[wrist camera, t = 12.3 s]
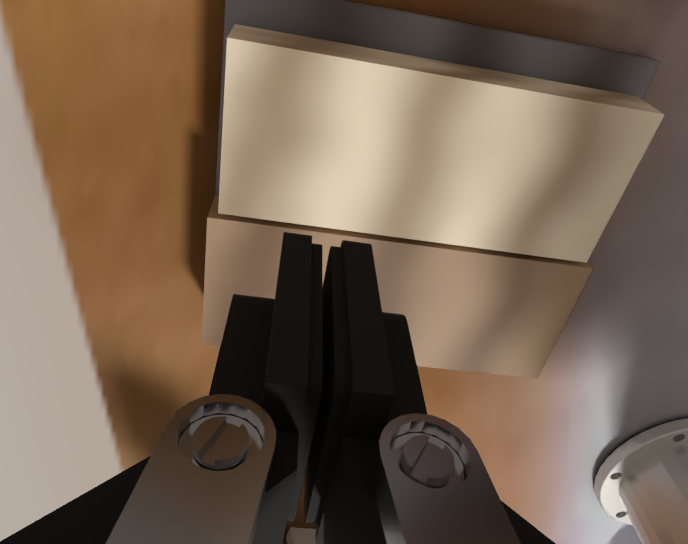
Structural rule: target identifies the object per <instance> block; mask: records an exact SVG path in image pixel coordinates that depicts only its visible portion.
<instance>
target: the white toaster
mask: <svg viewBox="0 0 688 544" xmlns="http://www.w3.org/2000/svg"><path fill="white" fill-rule="evenodd" d="M315 537H316V529H311V528H295V527H291V528H290V529H289V531H288V533H287V536H286V541H287V544H315Z"/></svg>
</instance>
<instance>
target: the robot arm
mask: <svg viewBox="0 0 688 544" xmlns="http://www.w3.org/2000/svg"><path fill="white" fill-rule="evenodd" d="M304 474H305V499H304V521H305V522H310V523H316V537H315V544H555V543H554V542H553V541H551V540H550V539H549V538H548V537H546V536H545V535H544V534H542V533H541V532H540V531H539V530H537V529H536V528H535V527H534V526H532V525H531V524H530V523H529V522H527V521H526V520H525V519H524V518H522V517H521V516H520V515H518V514H517V513H516V512H515V511H513V510H512V509H511V508H510V507H508V506H507V505H506V504H505V503H503V502H502V501H501V500H500V498H499V496H498V494H497V492H496V489H495V487H494V485H493V483H492V481H491V479H490V477H489V474H488V472H487V470H486V468H485V466H484V464H483V461H482V459H481V457H480V455H479V453H478V451H477V449H476V448H475V446H474V445H473V443H472V441H471V440H470V438H468V437H467V436H466V435H465V434H464V433H463V432H462V431H461V430H460V429H459V428H458V427H456V426H454V425H453V424H451V423H449V422H448V421H446V420H444V419H441V418H438V417H435V416H432V415H429V414H427V411H426V406H425V402H424V397H423V392H422V388H421V383H420V378H419V374H418V369H417V364H416V360H415V355H414V350H413V346H412V341H411V336H410V332H409V327H408V323H407V319H406V316H404V315H403V314H395V313H386V312H382V308H381V302H380V295H379V289H378V282H377V276H376V269H375V263H374V257H373V250H372V245H371V244H369V243H361V242H354V241H347V240H343V241H342V243H341V246H340V247H336V246H331V247H330V250H329V255H328V260H327V266H326V271H325V276H324V282H323V287H322V245H321V244H314V243H312V236H310V235H303V234H296V233H288V232H284V233H283V241H282V248H281V256H280V263H279V271H278V278H277V286H276V294H275V299H271V298H263V297H255V296H247V295H239V294H234V295H233V297H232V300H231V305H230V309H229V313H228V317H227V321H226V326H225V330H224V334H223V338H222V342H221V346H220V351H219V355H218V359H217V363H216V367H215V372H214V376H213V380H212V384H211V388H210V393H209V396H204V397H201V398H198V399H196V400H193V401H191V402H189V403H187V404H186V405H185V406H183V407H182V408H180V409H179V410H178V411H177V412H176V413H175V414H174V415H173V417H172V418H171V419H170V421H169V422H168V424H167V426H166V428H165V430H164V431H163V433H162V435H161V437H160V439H159V441H158V443H157V445H156V447H155V449H154V451H153V453H152V455H151V456H149V457H148V458H146V459H144V460H142V461H141V462H139V463H137V464H135V465H134V466H132V467H130V468H128V469H127V470H125V471H123V472H121V473H120V474H118V475H116V476H114V477H113V478H111V479H109V480H107V481H106V482H104V483H102V484H100V485H99V486H97V487H95V488H93V489H92V490H90V491H88V492H87V493H85V494H83V495H81V496H79V497H78V498H76V499H74V500H72V501H70V502H69V503H67V504H65V505H63V506H62V507H60V508H58V509H56V510H55V511H53V512H51V513H49V514H48V515H46V516H44V517H42V518H41V519H39V520H37V521H35V522H34V523H32V524H30V525H28V526H27V527H25V528H23V529H21V530H20V531H18V532H16V533H15V534H13V535H11V536H9V537H8V538H6V539H4V540H2V541H1V542H0V544H282V543H283V538H284V533H285V528H286V523H287V521H295V517H296V512H297V507H298V503H299V498H300V493H301V488H302V484H303V479H304ZM594 489H595V495H596V497H597V499H598V501H599V503H600V505H601V507H602V509H603V510H604V511H605V512H606V513H607V514H608V515H609V516H610V517H612V518H613V519H615V520H618V521H620V522H623V523H625V524H630V525H633V526H634V528H635V530H636V532H637V534H638V536H639V538H640V540H641V541H642V543H643V544H688V418H687V419H681V420H675V421H672V422H668V423H665V424H661V425H658V426H656V427H653V428H651V429H648V430H646V431H644V432H642V433H640V434H638V435H636V436H634V437H633V438H631V439H629V440H628V441H626V442H625V443H624V444H622V445H621V446H619V447H618V448H617V449H616V450H615V451H614V452H613V453H612V454H611V455H609V456H608V457H607V459H606V460H605V461H604V463H603V464H602V465H601V467H600V469H599V471H598V473H597V475H596V478H595V484H594Z"/></svg>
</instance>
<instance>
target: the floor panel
mask: <svg viewBox="0 0 688 544" xmlns="http://www.w3.org/2000/svg"><path fill="white" fill-rule="evenodd" d="M235 24H238V25H244V26H249V27H255V28H261V29H266V30H272V31H277V32H283V33H288V34H294V35H299V36H305V37H311V38H316V39H322V40H327V41H333V42H338V43H344V44H350V45H355V46H361V47H366V48H372V49H377V50H383V51H388V52H394V53H400V54H405V55H411V56H416V57H422V58H427V59H433V60H439V61H444V62H450V63H455V64H461V65H466V66H472V67H477V68H483V69H489V70H494V71H500V72H505V73H511V74H516V75H522V76H527V77H533V78H539V79H544V80H550V81H555V82H561V83H566V84H572V85H578V86H583V87H589V88H594V89H600V90H605V91H611V92H616V93H622V94H628V95H633V96H638V97H640V98H641V99H642V98H643V96H644V94H645V92H646V90H647V88H648V86H649V83H650V81H651V79H652V77H653V75H654V73H655V71H656V68H657V66H658V64H659V61H657V60H654V59H652V58H648V57H643V56H638V55H632V54H627V53H622V52H617V51H611V50H606V49H601V48H596V47H590V46H585V45H580V44H575V43H569V42H564V41H559V40H554V39H549V38H543V37H538V36H533V35H528V34H522V33H517V32H512V31H507V30H501V29H496V28H491V27H486V26H480V25H475V24H470V23H465V22H459V21H454V20H449V19H444V18H438V17H433V16H428V15H423V14H417V13H412V12H407V11H402V10H396V9H391V8H386V7H381V6H375V5H370V4H365V3H360V2H354V1H349V0H225V18H224V37H223V56H222V75H221V94H220V113H219V132H218V151H217V170H216V189H215V197H214V200H213V203H212V205H211V208H210V211H209V214H208V217H207V233H206V255H205V277H204V299H203V321H202V344H206V345H216V346H221V342H222V338H223V334H224V330H225V326H226V321H227V317H228V313H229V309H230V305H231V300H232V297H233V295H234V294H239V295H247V296H255V297H263V298H271V299H275V294H276V286H277V278H278V271H279V263H280V256H281V248H282V241H283V233H284V232H288V233H296V234H303V235H310V236H312V243H314V244H321V245H322V287H323V282H324V276H325V271H326V266H327V260H328V255H329V250H330V247H331V246H336V247H340V246H341V243H342V241H343V240H347V241H354V242H361V243H369V244H371V245H372V250H373V257H374V263H375V269H376V276H377V282H378V289H379V295H380V302H381V308H382V312H386V313H395V314H403V315H404V316H406V319H407V323H408V327H409V332H410V336H411V341H412V346H413V350H414V355H415V360H416V364H417V366H422V367H432V368H442V369H451V370H461V371H471V372H481V373H491V374H500V375H510V376H520V377H530V378H538V377H539V375H540V373H541V371H542V369H543V367H544V365H545V363H546V361H547V359H548V357H549V355H550V353H551V351H552V349H553V347H554V345H555V343H556V341H557V339H558V337H559V335H560V333H561V331H562V329H563V327H564V325H565V323H566V321H567V319H568V317H569V315H570V313H571V311H572V309H573V307H574V305H575V303H576V301H577V299H578V297H579V295H580V293H581V291H582V289H583V287H584V285H585V284H586V282H587V280H588V278H589V276H590V274H591V272H592V270H593V268H592V267H591V265H590V264H589V263H588V262H587V263H585V262H578V261H570V260H563V259H555V258H548V257H540V256H533V255H525V254H518V253H510V252H503V251H495V250H488V249H481V248H473V247H466V246H458V245H451V244H443V243H436V242H428V241H421V240H413V239H406V238H398V237H391V236H383V235H376V234H368V233H361V232H353V231H346V230H338V229H331V228H323V227H316V226H309V225H301V224H294V223H286V222H279V221H271V220H264V219H256V218H249V217H241V216H234V215H226V214H219V213H218V205H219V185H220V166H221V146H222V126H223V106H224V87H225V67H226V47H227V37H228V35H229V33H230V32H231V30H232V28H233V26H234V25H235Z"/></svg>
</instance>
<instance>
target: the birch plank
mask: <svg viewBox="0 0 688 544" xmlns="http://www.w3.org/2000/svg"><path fill="white" fill-rule="evenodd" d="M664 115H665V114H663V113H662V112H660V111H659V110H657V109H656V108H654V107H653V106H651V105H650V104H648V103H647V102H645V101H644V100H642V99H641V98H640V97H638V96H633V95H628V94H622V93H616V92H611V91H605V90H600V89H594V88H589V87H583V86H578V85H572V84H566V83H561V82H555V81H550V80H544V79H539V78H533V77H527V76H522V75H516V74H511V73H505V72H500V71H494V70H489V69H483V68H477V67H472V66H466V65H461V64H455V63H450V62H444V61H439V60H433V59H427V58H422V57H416V56H411V55H405V54H400V53H394V52H388V51H383V50H377V49H372V48H366V47H361V46H355V45H350V44H344V43H338V42H333V41H327V40H322V39H316V38H311V37H305V36H299V35H294V34H288V33H283V32H277V31H272V30H266V29H261V28H255V27H249V26H244V25H238V24H235V25H234V26H233V28H232V30H231V32H230V33H229V35H228V37H227V47H226V67H225V87H224V106H223V126H222V146H221V166H220V185H219V205H218V213H219V214H226V215H234V216H241V217H249V218H256V219H264V220H271V221H279V222H286V223H294V224H301V225H309V226H316V227H323V228H331V229H338V230H346V231H353V232H361V233H368V234H376V235H383V236H391V237H398V238H406V239H413V240H421V241H428V242H436V243H443V244H451V245H458V246H466V247H473V248H481V249H488V250H495V251H503V252H510V253H518V254H525V255H533V256H540V257H548V258H555V259H563V260H570V261H578V262H585V263H587V261H588V259H589V257H590V255H591V253H592V252H593V250H594V248H595V246H596V244H597V242H598V240H599V238H600V236H601V235H602V233H603V231H604V229H605V227H606V225H607V223H608V221H609V219H610V218H611V216H612V214H613V212H614V210H615V208H616V206H617V204H618V202H619V200H620V199H621V197H622V195H623V193H624V191H625V189H626V187H627V185H628V183H629V182H630V180H631V178H632V176H633V174H634V172H635V170H636V168H637V166H638V165H639V163H640V161H641V159H642V157H643V155H644V153H645V151H646V149H647V147H648V146H649V144H650V142H651V140H652V138H653V136H654V134H655V132H656V130H657V129H658V127H659V125H660V123H661V121H662V119H663V117H664Z"/></svg>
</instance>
